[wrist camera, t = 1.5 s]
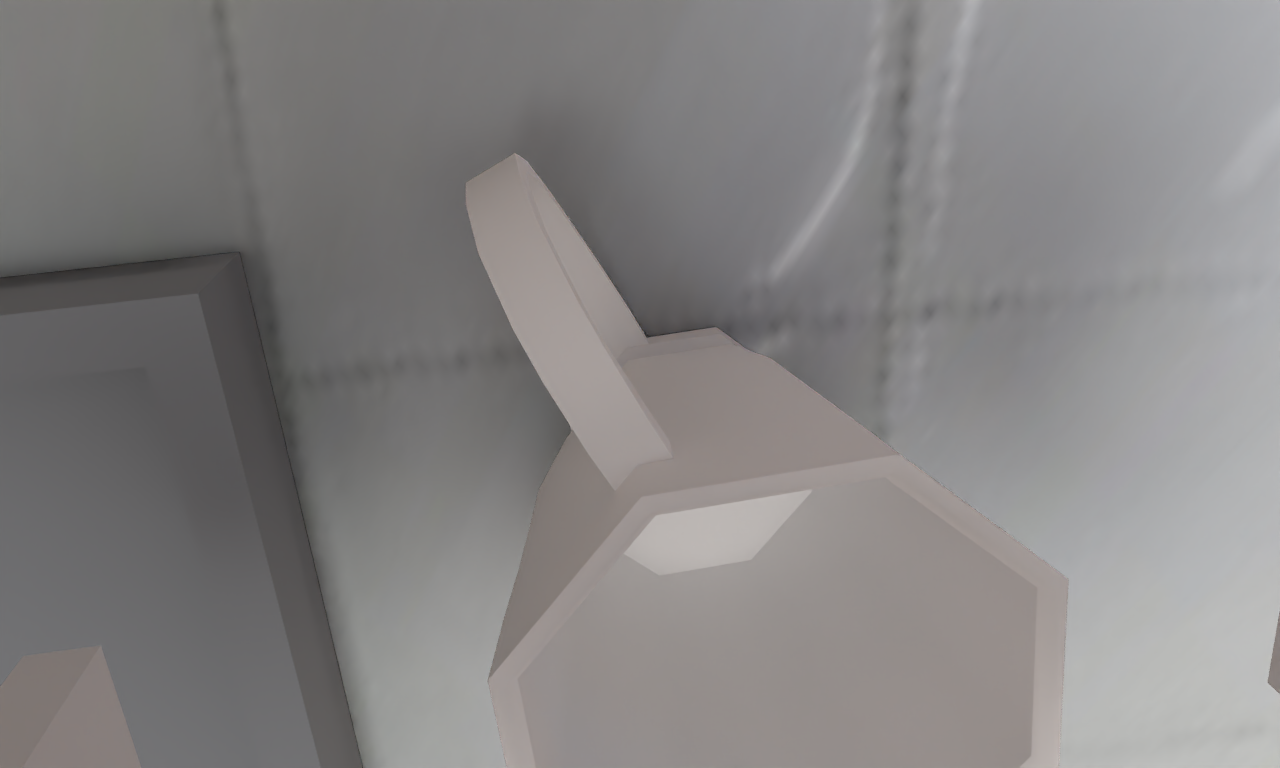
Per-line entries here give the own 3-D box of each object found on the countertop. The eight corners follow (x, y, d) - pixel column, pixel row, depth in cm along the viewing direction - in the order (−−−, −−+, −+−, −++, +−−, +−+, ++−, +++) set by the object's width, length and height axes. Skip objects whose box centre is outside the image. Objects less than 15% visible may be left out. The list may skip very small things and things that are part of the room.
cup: (613, 652, 21) (672, 1034, 13) (314, 238, 17) (157, 445, 9) (920, 485, 20) (1165, 786, 12) (681, 16, 16) (826, 46, 9)
